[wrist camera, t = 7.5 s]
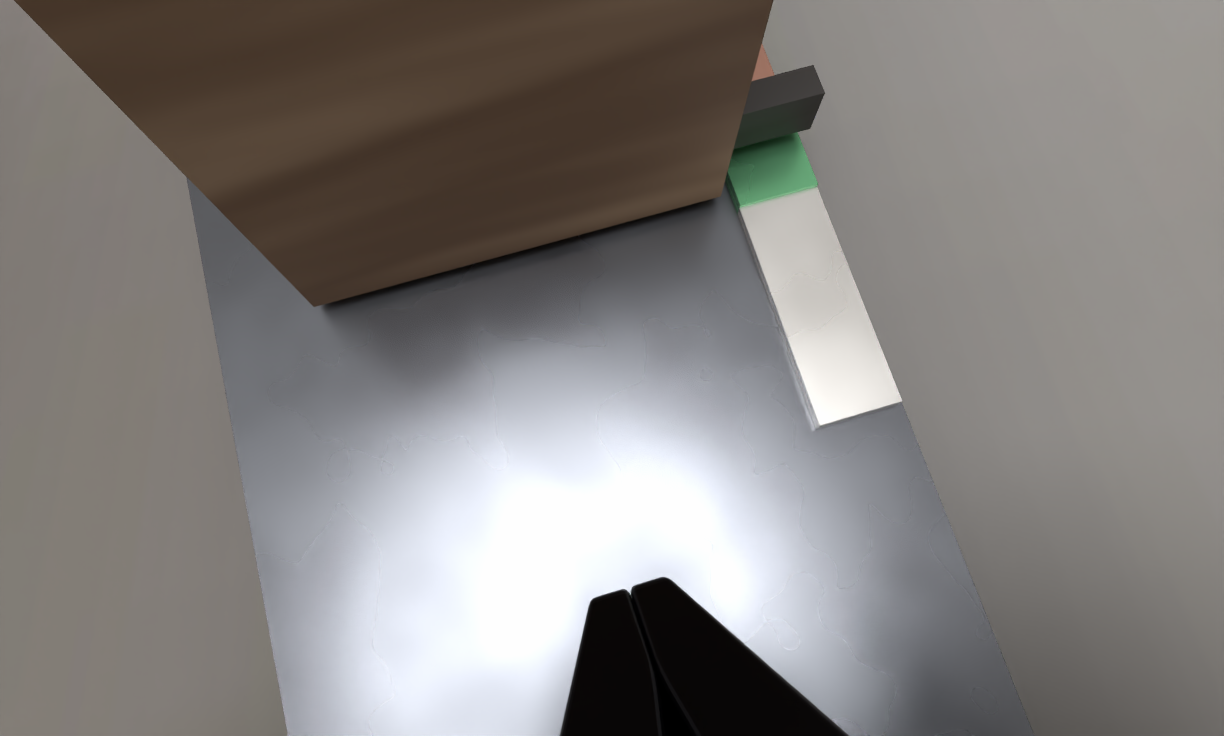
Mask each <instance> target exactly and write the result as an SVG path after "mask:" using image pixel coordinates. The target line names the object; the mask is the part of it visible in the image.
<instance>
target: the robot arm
mask: <svg viewBox="0 0 1224 736" xmlns="http://www.w3.org/2000/svg"><path fill="white" fill-rule="evenodd" d="M630 593H631V595H630ZM630 593H629V592H628V591H627V590H625V589H620V590H617V591H614V592H611V593H607V594H604V595H601V596H598V597H595V598H593V599H592V600H591V601H590V604H589V606H588V610H587V615H586V619H585V624H584V628H583V633H582V637H581V642H580V646H579V651H578V655H577V660H576V664H575V668H574V673H573V677H572V682H571V686H570V691H569V695H568V700H567V704H566V709H565V713H564V718H563V722H562V727H561V731H560V736H849V735H848V734H847V733H846V732H845V731H843V730H842V729H841V728H840V727H839V726H838V725H837V724H835V723H834V722H833V721H832V720H831V719H830V718H829V717H827V716H826V715H825V714H824V713H823V712H822V711H821V710H819V709H818V708H817V707H816V706H815V705H814V704H813V703H811V702H810V701H809V700H808V699H807V698H806V697H805V696H803V695H802V694H801V693H800V692H799V691H798V690H797V689H795V688H794V687H793V686H792V685H791V684H790V683H789V682H787V681H786V680H785V679H784V678H783V677H782V676H781V675H779V674H778V673H777V672H776V671H775V670H774V669H773V668H771V667H770V666H769V665H768V664H767V663H766V662H765V661H763V660H762V659H761V658H760V657H759V656H758V655H757V654H755V653H754V652H753V651H752V650H751V649H750V648H749V647H748V646H746V645H745V644H744V643H743V642H742V641H741V640H740V639H738V638H737V637H736V636H735V635H734V634H733V633H732V632H730V631H729V630H728V629H727V628H726V627H725V626H724V625H722V624H721V623H720V622H719V621H718V620H717V619H716V618H714V617H713V616H712V615H711V614H710V613H709V612H708V611H706V610H705V609H704V608H703V607H702V606H701V605H700V604H698V603H697V602H696V601H695V600H694V599H693V598H692V597H690V596H689V595H688V594H687V593H686V592H685V591H684V590H682V589H681V588H680V587H679V586H678V585H677V584H676V583H674V582H673V581H672V580H671V579H669V578H667V577H659V578H656V579H653V580H650V581H646V582H643V583H640V584H637V585H634V586H633V587H632V588H631V591H630Z"/></svg>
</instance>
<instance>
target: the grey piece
mask: <svg viewBox="0 0 1224 736" xmlns="http://www.w3.org/2000/svg"><path fill="white" fill-rule="evenodd" d="M773 75H774V72H773V70H772V67H771V65H770V62H769V60H768V57H767V55H766V52H765V50H764V47H763V45H762V44H761V48H760V51H759V55H758V59H757V63H756V66H755V70H754V74H753V78H752V81H754V80H758V79H762V78H766V77H770V76H773ZM187 182H188V188H189V193H190V199H191V204H192V210H193V215H194V221H195V226H196V232H197V237H198V243H199V248H200V254H201V259H202V265H203V270H204V276H205V281H206V287H207V292H208V298H209V303H210V309H211V314H212V320H213V325H214V331H215V336H216V342H217V347H218V353H219V358H220V364H221V369H222V375H223V380H224V386H225V391H226V397H227V402H228V408H229V413H230V419H231V424H232V430H233V435H234V441H235V446H236V452H237V457H238V463H239V468H240V474H241V479H242V485H243V490H244V496H245V501H246V507H247V512H248V518H249V523H250V529H251V534H252V540H253V545H254V551H255V556H256V562H257V567H258V573H259V578H260V584H261V589H262V595H263V600H264V606H265V611H266V617H267V622H268V628H269V633H270V639H271V644H272V650H273V655H274V661H275V666H276V672H277V677H278V683H279V688H280V694H281V699H282V705H283V710H284V716H285V721H286V727H287V732H288V736H560V731H561V727H562V722H563V718H564V713H565V709H566V704H567V700H568V695H569V691H570V686H571V682H572V677H573V673H574V668H575V664H576V660H577V655H578V651H579V646H580V642H581V637H582V633H583V628H584V624H585V619H586V615H587V610H588V606H589V604H590V601H591V600H592V599H593V598H595V597H598V596H601V595H604V594H607V593H611V592H614V591H617V590H620V589H625V590H627V591H628V592H629V593H630V591H631V588H632V587H633V586H634V585H637V584H640V583H643V582H646V581H650V580H653V579H656V578H659V577H667V578H669V579H671V580H672V581H673V582H674V583H676V584H677V585H678V586H679V587H680V588H681V589H682V590H684V591H685V592H686V593H687V594H688V595H689V596H690V597H692V598H693V599H694V600H695V601H696V602H697V603H698V604H700V605H701V606H702V607H703V608H704V609H705V610H706V611H708V612H709V613H710V614H711V615H712V616H713V617H714V618H716V619H717V620H718V621H719V622H720V623H721V624H722V625H724V626H725V627H726V628H727V629H728V630H729V631H730V632H732V633H733V634H734V635H735V636H736V637H737V638H738V639H740V640H741V641H742V642H743V643H744V644H745V645H746V646H748V647H749V648H750V649H751V650H752V651H753V652H754V653H755V654H757V655H758V656H759V657H760V658H761V659H762V660H763V661H765V662H766V663H767V664H768V665H769V666H770V667H771V668H773V669H774V670H775V671H776V672H777V673H778V674H779V675H781V676H782V677H783V678H784V679H785V680H786V681H787V682H789V683H790V684H791V685H792V686H793V687H794V688H795V689H797V690H798V691H799V692H800V693H801V694H802V695H803V696H805V697H806V698H807V699H808V700H809V701H810V702H811V703H813V704H814V705H815V706H816V707H817V708H818V709H819V710H821V711H822V712H823V713H824V714H825V715H826V716H827V717H829V718H830V719H831V720H832V721H833V722H834V723H835V724H837V725H838V726H839V727H840V728H841V729H842V730H843V731H845V732H846V733H847V734H848V735H849V736H1034V734H1033V731H1032V729H1031V726H1030V724H1029V721H1028V719H1027V716H1026V714H1025V711H1024V709H1023V706H1022V704H1021V701H1020V699H1019V696H1018V694H1017V691H1016V689H1015V686H1014V684H1013V681H1012V679H1011V676H1010V674H1009V671H1008V669H1007V666H1006V664H1005V661H1004V658H1003V656H1002V653H1001V651H1000V648H999V646H998V643H997V641H996V638H995V636H994V633H993V631H992V628H991V626H990V623H989V621H988V618H987V616H986V613H985V611H984V608H983V606H982V603H981V601H980V598H979V596H978V593H977V591H976V588H975V586H974V583H973V581H972V578H971V576H970V573H969V570H968V568H967V565H966V563H965V560H964V558H963V555H962V553H961V550H960V548H959V545H958V543H957V540H956V538H955V535H954V533H953V530H952V528H951V525H950V523H949V520H948V518H947V515H946V513H945V510H944V508H943V505H942V503H941V500H940V498H939V495H938V493H937V490H936V488H935V485H934V482H933V480H932V477H931V475H930V472H929V470H928V467H927V465H926V462H925V460H924V457H923V455H922V452H921V450H920V447H919V445H918V442H917V440H916V437H915V435H914V432H913V430H912V427H911V425H910V422H909V420H908V417H907V415H906V412H905V410H904V407H903V405H902V399H901V397H900V394H899V392H898V389H897V387H896V384H895V382H894V379H893V377H892V374H891V372H890V369H889V367H888V364H887V361H886V359H885V356H884V354H883V351H882V349H881V346H880V344H879V341H878V339H877V336H876V334H875V331H874V329H873V326H872V324H871V321H870V319H869V316H868V314H867V311H866V309H865V306H864V304H863V301H862V299H861V296H860V294H859V291H858V289H857V286H856V284H855V281H854V279H853V276H852V274H851V271H850V269H849V266H848V264H847V261H846V259H845V256H844V253H843V251H842V248H841V246H840V243H839V241H838V238H837V236H836V233H835V231H834V228H833V226H832V223H831V221H830V218H829V216H828V213H827V211H826V208H825V206H824V203H823V201H822V198H821V196H820V193H819V191H818V188H817V185H818V183H817V180H816V178H815V175H814V173H813V170H812V168H811V165H810V163H809V160H808V158H807V155H806V153H805V150H804V148H803V145H802V143H801V140H800V138H799V135H798V133H797V132H796V133H792V134H788V135H784V136H781V137H777V138H773V139H769V140H766V141H762V142H758V143H754V144H751V145H747V146H743V147H739V148H736V149H733V153H732V156H731V160H730V164H729V168H728V171H727V175H726V179H725V183H724V186H723V190H722V194H721V197H717V198H713V199H710V200H706V201H702V202H698V203H695V204H691V205H687V206H684V207H680V208H676V209H673V210H669V211H665V212H662V213H658V214H654V215H651V216H647V217H643V218H640V219H636V220H632V221H629V222H625V223H621V224H618V225H614V226H610V227H607V228H603V229H599V230H596V231H592V232H588V233H584V234H581V235H577V236H573V237H570V238H566V239H562V240H559V241H555V242H551V243H548V244H544V245H540V246H537V247H533V248H529V249H526V250H522V251H518V252H515V253H511V254H507V255H504V256H500V257H496V258H493V259H489V260H485V261H481V262H478V263H474V264H470V265H467V266H463V267H459V268H456V269H452V270H448V271H445V272H441V273H437V274H434V275H430V276H426V277H423V278H419V279H415V280H412V281H408V282H404V283H401V284H397V285H393V286H390V287H386V288H382V289H379V290H375V291H371V292H367V293H364V294H360V295H356V296H353V297H349V298H345V299H342V300H338V301H334V302H331V303H327V304H323V305H320V306H316V307H313V306H312V305H311V304H310V303H309V302H308V301H307V299H306V298H305V297H304V296H303V295H302V294H301V293H300V292H299V291H298V290H297V289H296V288H295V287H294V286H293V285H292V284H291V283H290V282H289V281H288V280H287V279H286V278H285V277H284V276H283V275H282V274H281V273H280V272H279V271H278V270H277V269H276V268H275V267H274V266H273V265H272V264H271V263H270V262H269V261H268V260H267V259H266V258H265V257H264V255H263V254H262V253H261V252H260V251H259V250H258V249H257V248H256V247H255V246H254V245H253V244H252V243H251V242H250V241H249V240H248V239H247V238H246V237H245V236H244V235H243V234H242V233H241V232H240V231H239V230H238V229H237V228H236V227H235V226H234V225H233V224H232V223H231V222H230V221H229V220H228V219H227V218H226V217H225V216H224V215H223V214H222V213H221V211H220V210H219V209H218V208H217V207H216V206H215V205H214V204H213V203H212V202H211V201H210V200H209V199H208V198H207V197H206V196H205V195H204V194H203V193H202V192H201V191H200V190H199V189H198V188H197V187H196V186H195V185H194V184H193V183H192V182H191V181H190V180H189V179H188V178H187ZM630 595H631V593H630Z"/></svg>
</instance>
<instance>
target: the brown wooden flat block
mask: <svg viewBox="0 0 1224 736" xmlns="http://www.w3.org/2000/svg"><path fill="white" fill-rule="evenodd" d="M14 1H15V2H16V3H17V4H18V5H19V6H20V7H21V8H22V9H23V10H24V11H25V12H26V13H27V14H28V15H29V16H30V17H31V18H32V19H33V20H34V21H35V22H36V23H37V24H38V25H39V26H40V27H41V28H42V29H43V30H44V31H45V32H46V33H47V34H48V35H49V37H50V38H51V39H52V40H53V41H54V42H55V43H56V44H57V45H58V46H59V47H60V48H61V49H62V50H63V51H64V52H65V53H66V54H67V55H68V56H69V57H70V58H71V59H72V60H73V61H74V62H75V63H76V64H77V65H78V66H79V67H80V68H81V69H82V70H83V71H84V72H85V73H86V74H87V75H88V76H89V77H90V78H91V79H92V81H93V82H94V83H95V84H96V85H97V86H98V87H99V88H100V89H101V90H102V91H103V92H104V93H105V94H106V95H107V96H108V97H109V98H110V99H111V100H112V101H113V102H114V103H115V104H116V105H117V106H118V107H119V108H120V109H121V110H122V111H123V112H124V113H125V114H126V115H127V116H128V117H129V118H130V119H131V120H132V121H133V122H134V123H135V125H136V126H137V127H138V128H139V129H140V130H141V131H142V132H143V133H144V134H145V135H146V136H147V137H148V138H149V139H150V140H151V141H152V142H153V143H154V144H155V145H156V146H157V147H158V148H159V149H160V150H161V151H162V152H163V153H164V154H165V155H166V156H167V157H168V158H169V159H170V160H171V161H172V162H173V163H174V164H175V165H176V166H177V167H178V169H179V170H180V171H181V172H182V173H183V174H184V175H185V176H186V177H187V178H188V179H189V180H190V181H191V182H192V183H193V184H194V185H195V186H196V187H197V188H198V189H199V190H200V191H201V192H202V193H203V194H204V195H205V196H206V197H207V198H208V199H209V200H210V201H211V202H212V203H213V204H214V205H215V206H216V207H217V208H218V209H219V210H220V211H221V213H222V214H223V215H224V216H225V217H226V218H227V219H228V220H229V221H230V222H231V223H232V224H233V225H234V226H235V227H236V228H237V229H238V230H239V231H240V232H241V233H242V234H243V235H244V236H245V237H246V238H247V239H248V240H249V241H250V242H251V243H252V244H253V245H254V246H255V247H256V248H257V249H258V250H259V251H260V252H261V253H262V254H263V255H264V257H265V258H266V259H267V260H268V261H269V262H270V263H271V264H272V265H273V266H274V267H275V268H276V269H277V270H278V271H279V272H280V273H281V274H282V275H283V276H284V277H285V278H286V279H287V280H288V281H289V282H290V283H291V284H292V285H293V286H294V287H295V288H296V289H297V290H298V291H299V292H300V293H301V294H302V295H303V296H304V297H305V298H306V299H307V301H308V302H309V303H310V304H311V305H312V306H313V307H316V306H320V305H323V304H327V303H331V302H334V301H338V300H342V299H345V298H349V297H353V296H356V295H360V294H364V293H367V292H371V291H375V290H379V289H382V288H386V287H390V286H393V285H397V284H401V283H404V282H408V281H412V280H415V279H419V278H423V277H426V276H430V275H434V274H437V273H441V272H445V271H448V270H452V269H456V268H459V267H463V266H467V265H470V264H474V263H478V262H481V261H485V260H489V259H493V258H496V257H500V256H504V255H507V254H511V253H515V252H518V251H522V250H526V249H529V248H533V247H537V246H540V245H544V244H548V243H551V242H555V241H559V240H562V239H566V238H570V237H573V236H577V235H581V234H584V233H588V232H592V231H596V230H599V229H603V228H607V227H610V226H614V225H618V224H621V223H625V222H629V221H632V220H636V219H640V218H643V217H647V216H651V215H654V214H658V213H662V212H665V211H669V210H673V209H676V208H680V207H684V206H687V205H691V204H695V203H698V202H702V201H706V200H710V199H713V198H717V197H721V194H722V190H723V186H724V183H725V179H726V175H727V171H728V168H729V164H730V160H731V156H732V153H733V149H736V148H739V147H743V146H747V145H751V144H754V143H758V142H762V141H766V140H769V139H773V138H777V137H781V136H784V135H788V134H792V133H796V132H799V131H803V130H807V129H810V127H811V125H812V123H813V120H814V118H815V115H816V113H817V111H818V108H819V106H820V103H821V101H822V99H823V96H824V94H825V92H824V90H823V87H822V85H821V82H820V80H819V77H818V75H817V73H816V70H815V68H814V65H812V66H808V67H804V68H800V69H796V70H793V71H789V72H785V73H781V74H777V75H773V76H770V77H766V78H762V79H758V80H754V81H752V78H753V74H754V70H755V66H756V63H757V59H758V55H759V51H760V48H761V44H762V40H763V37H764V33H765V29H766V25H767V22H768V18H769V14H770V10H771V7H772V3H773V0H14Z"/></svg>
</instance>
